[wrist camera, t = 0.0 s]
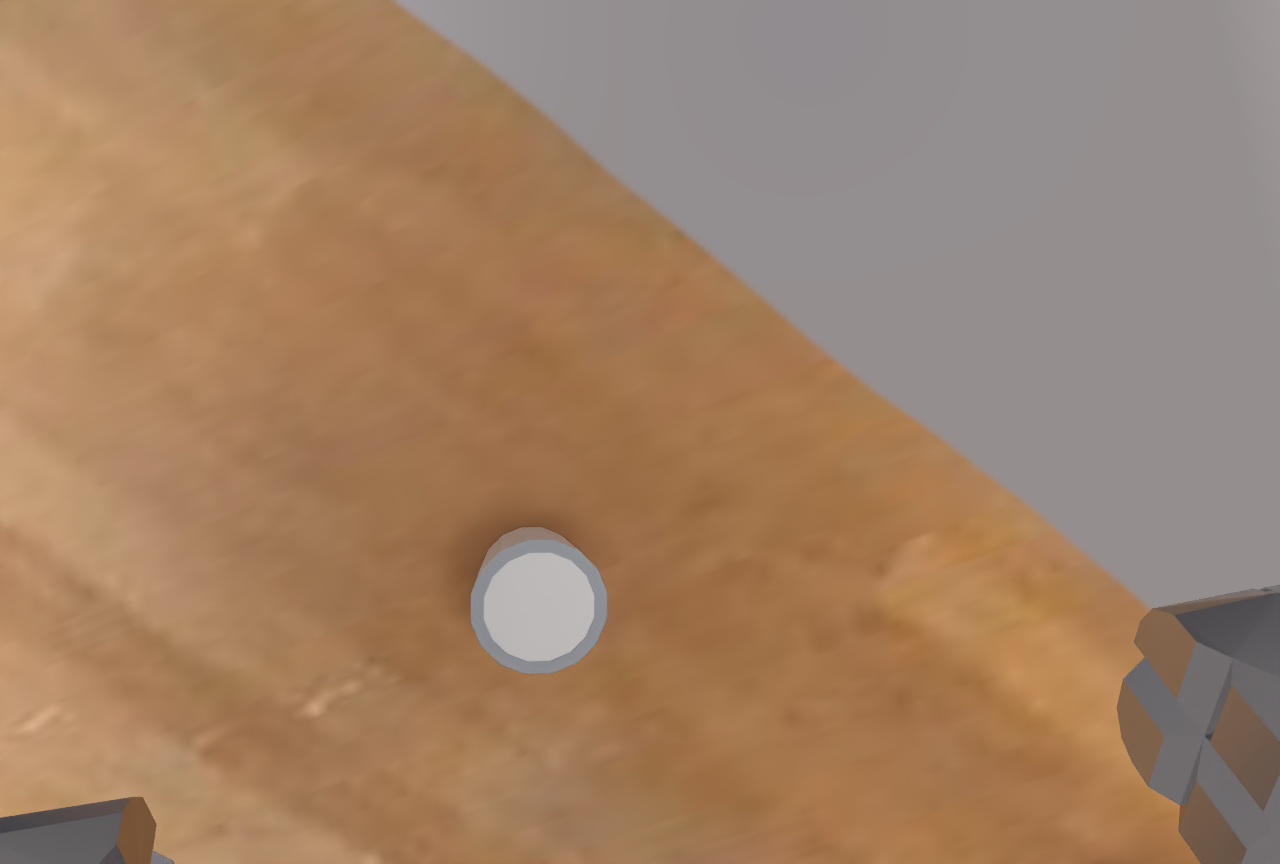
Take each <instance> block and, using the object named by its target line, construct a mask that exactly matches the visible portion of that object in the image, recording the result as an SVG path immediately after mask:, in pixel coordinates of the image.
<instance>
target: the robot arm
mask: <svg viewBox="0 0 1280 864" xmlns="http://www.w3.org/2000/svg"><path fill="white" fill-rule="evenodd" d="M1134 643H1135V645H1136V646H1137V647H1138V649H1139V650H1140V651H1141V653H1142V654H1143V655H1144V657H1145V658H1144V659H1143V660H1142V661H1141V662H1140V663H1139V664H1138V665H1137V666H1136V667H1135V668H1134V669H1133V670H1132V671H1131V672H1130V673H1129V674H1128V675H1127V676H1126V677H1125V678H1124V679H1123V682H1122V686H1121V690H1120V695H1119V699H1118V704H1117V712H1118V718H1119V725H1120V731H1121V737H1122V740H1123V742H1124V745H1125V747H1126V749H1127V752H1128V754H1129V756H1130V759H1131V761H1132V763H1133V764H1134V766H1135V767H1136V769H1137V770H1138V772H1139V774H1140V775H1141V777H1142V778H1143V780H1144V781H1145V783H1146V784H1147V786H1148V787H1150V788H1151V789H1153V790H1155V791H1156V792H1158V793H1160V794H1162V795H1163V796H1165V797H1167V798H1169V799H1170V800H1172V801H1174V802H1175V803H1177V804H1179V805H1180V814H1179V829H1178V831H1179V833H1180V834H1181V836H1182V837H1183V838H1184V840H1185V841H1186V843H1187V844H1188V846H1189V847H1190V849H1191V850H1192V851H1193V853H1194V854H1195V856H1196V857H1197V859H1198V860H1199V862H1200V863H1201V864H1280V585H1276V586H1271V587H1265V588H1263V589H1259V590H1257V589H1250V590H1245V591H1240V592H1235V593H1230V594H1225V595H1220V596H1215V597H1209V598H1204V599H1199V600H1194V601H1189V602H1184V603H1179V604H1174V605H1169V606H1164V607H1158V608H1153V609H1152V610H1150V611H1149V612H1148V613H1147V614H1146V615H1145V616H1144V617H1143V618H1142V619H1141V620H1140V623H1139V627H1138V630H1137V633H1136V636H1135V640H1134ZM156 825H157V824H156V822H155V820H154V818H153V816H152V814H151V812H150V811H149V809H148V807H147V805H146V803H145V801H144V799H143V797H129V798H123V799H117V800H110V801H104V802H98V803H91V804H85V805H79V806H72V807H66V808H60V809H53V810H47V811H41V812H34V813H28V814H22V815H15V816H9V817H2V818H0V864H174V862H173V860H171V859H169V858H167V857H165V856H163V855H160V854H158V853H156V852H154V851H152V850H153V844H154V838H155V831H156Z"/></svg>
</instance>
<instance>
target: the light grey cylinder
mask: <svg viewBox="0 0 1280 864" xmlns="http://www.w3.org/2000/svg"><path fill="white" fill-rule="evenodd" d="M606 620H607V591H606V588H605V586H604V583H603V581H602V578H601V576H600V574H599V571H598V569H597V568H596V567H595V566H594V565H593V564H592V563H591V562H590V561H589V560H588V559H587V558H586V557H585V556H584V555H583V554H582V553H581V552H580V551H579V550H578V549H577V548H576V547H575V546H573V545H572V544H571V543H570V542H568V541H567V540H566V539H565V538H564V537H562V536H561V535H560V534H558V533H555V532H553V531H550V530H548V529H545V528H543V527H521V528H518V529H516V530H513V531H511V532H509V533H506V534H504V535H502V536H501V537H500V538H499V539H498V540H497V541H496V542H495V543H494V544H493V545H492V546H491V547H490V548H489V549H488V551H487V554H486V556H485V558H484V561H483V563H482V565H481V568H480V570H479V573H478V576H477V579H476V582H475V585H474V587H473V590H472V593H471V624H472V626H473V629H474V631H475V633H476V636H477V638H478V640H479V643H480V645H481V647H482V648H483V649H484V650H485V651H486V652H488V653H489V654H490V655H491V656H492V657H493V658H494V659H495V660H496V661H497V662H498V663H499V664H500V665H503V666H505V667H508V668H511V669H513V670H516V671H519V672H521V673H524V674H542V673H554V672H556V671H559V670H561V669H563V668H566V667H568V666H570V665H572V664H575V663H577V662H578V661H579V660H580V659H581V658H582V657H583V656H584V655H585V654H586V653H587V652H588V651H589V650H590V649H591V648H592V647H593V646H594V645H595V644H596V643H597V641H598V638H599V636H600V634H601V631H602V629H603V627H604V624H605V622H606Z"/></svg>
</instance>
